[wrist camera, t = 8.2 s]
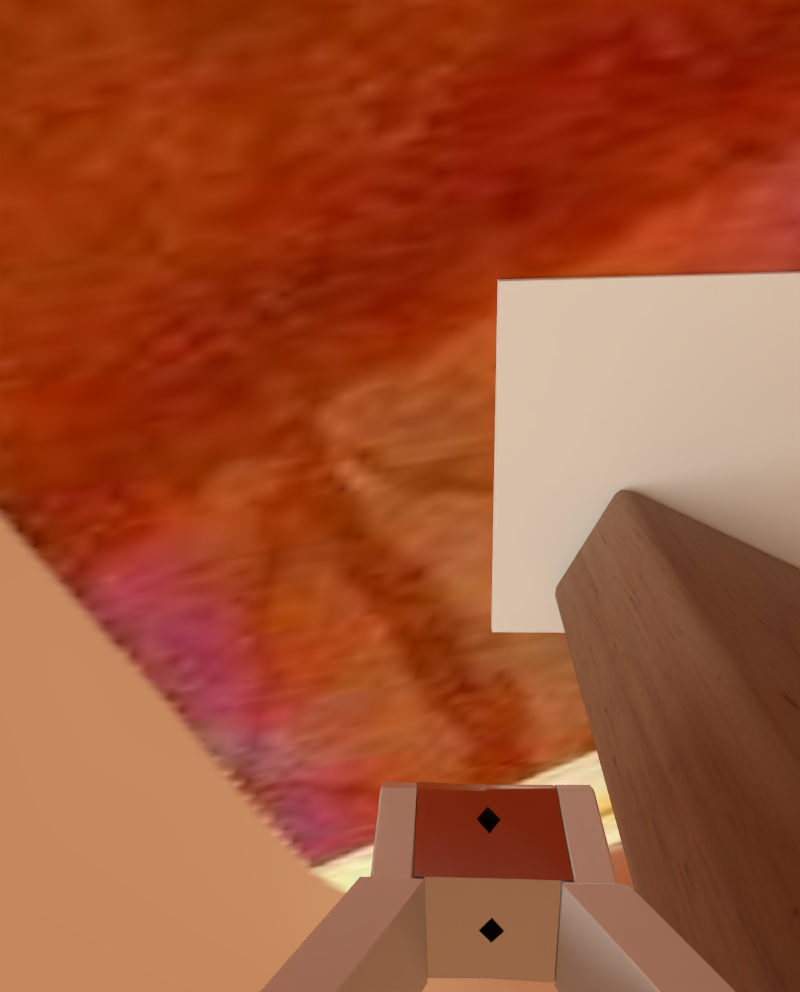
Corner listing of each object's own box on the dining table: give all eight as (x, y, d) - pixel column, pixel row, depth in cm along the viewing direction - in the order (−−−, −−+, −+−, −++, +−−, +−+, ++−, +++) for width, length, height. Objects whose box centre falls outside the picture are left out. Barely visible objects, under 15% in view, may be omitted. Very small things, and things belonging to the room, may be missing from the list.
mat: (497, 279, 22) (499, 281, 21) (1065, 264, 21) (1079, 266, 20) (491, 624, 26) (492, 631, 26) (956, 626, 25) (965, 634, 25)
